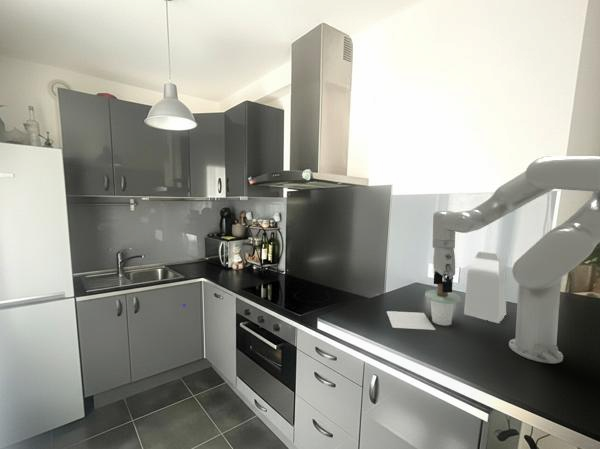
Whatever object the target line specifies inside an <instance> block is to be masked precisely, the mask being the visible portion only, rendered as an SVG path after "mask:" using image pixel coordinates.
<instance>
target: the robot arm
mask: <svg viewBox="0 0 600 449" xmlns="http://www.w3.org/2000/svg"><path fill="white" fill-rule="evenodd" d="M553 190H564V191H565V190H566V191H580V192H581V191H582V192H593V193H592V196H591V197H590V198H589V200H587V201H586V202H585V203H584V204H583V205H582V206H581V207H579V208H578V210H576V211H575V213H573V215H571V216H570V217H568V218H567V220H565V221H564V222H563V223H562V224H560V225H558V226H556V227H554V228H552V229H551V230H549V231H548V232H547V233H546V234H544V235H543V236H542V237H541V238H540V239H539V240H538V241H537V242H535V243H534V244H533V245H532V246H531V247H530V248H529V249H528V250H527V251H526V252H524V254H522V255H521V256H520V257H519V258H518V259H517V260H516V261H515V262H514V263H513V265H512V271H511V272H512V276H513V278H514V280H515V281H516V283H518V290H517V299H516V300H517V301H516V302H517V303H516V304H517V305H516V318H515V319H516V322H515V338H512V339H510V340H509V341H508V347H509V348H510V349H511V350H512V351H513V352H514V353H515V354H517V355H519V356H521V357H522V358H526V359H528V360H530V361H531V360H532V361H535V362H539V363H544V364H560V363H561V362H563V360H564V355H563V353H562V352H561V351H559V347H558V346H557V343H558V341H557V339H558V327H559V326H558V325H559V310H560V301H561V300H560V299H561V288H562V281H563V278H564V276H566V275H568V273H569V272H571V271H572V270H574V268H576V267H577V266H579V265H580V264H581V263H582V262H584V261H585V260H586V259H587V258H589V257H590V255H591V254H592V253H593V252H594V250H595V248H596V247H597V245H598V244H599V243H600V155H596V156H595V155H591V156H590V155H589V156H586V155H585V156H578V155H577V156H557V155H555V156H542V157H540V158H537V159H535V160H533V161H532V162H531V163H530V164H528V166H527V167H526V170H525V171H523V172H522V173H520V174H518V175H517V176H515V177H514V178H512V179H510V180H508V181H507V182H505V183H503V184H502V185H500V186H499V187H497V189H496V190H495V191H494V193H493V195H491V197H490V198H488V199H487V200H486V201H484V202H482V203H481V204H479V205H477V206H476V207H474V208H472V209H470V210H465V211H457V212H454V211H447V210H443V211H442V210H439V211H435V212H434V213H433V216H432V248H433V262H432V263H433V264H432V265H433V269H434V270H433V284H434V285H437V284H442V291H443V292H448V293H453V283H454V276H456V255H455V249H456V232H457V233H463V234H467V233H471V232H475V231H478V230H480V229H483V228H485V227H487V226H489V225H490V224H492V223H494V222H496V221H497V220H499V219H501V218H503V217H504V216H506V215H508V214H510V213H514V211H516V210H518V209H520V208H521V207H524V206H526V205H527V204H529V203H530V202H532V201H534V200H536V199H537V198H539V197H542V196H544V195H546V194H547V193H549V192H551V191H553Z"/></svg>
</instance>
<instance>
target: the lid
mask: <svg viewBox="0 0 600 449" xmlns="http://www.w3.org/2000/svg"><path fill="white" fill-rule="evenodd" d="M436 286H437V287H436V288H437V289H430V290H426V291H425V293H424V296H425V299H428V300H429V301H431V300H432V301H435V302H439V303H446V304H454V305H455V304H458V303H460V302H461V296H460V295H459V294H457V293H454V292H452V293H448V292H443V291H442V284H436Z"/></svg>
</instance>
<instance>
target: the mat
mask: <svg viewBox="0 0 600 449" xmlns="http://www.w3.org/2000/svg"><path fill="white" fill-rule="evenodd" d="M386 315H387V316H388V319H389V322H390V324H391V327H392V328H395V329H410V330H411V329H413V330H426V331H427V330H430V331H436V328H435V327H434V325H433V323H432V322H431V321H430V320H429V318H428V317H427V316H426V314H425V312H414V311H413V312H412V311H410V312H409V311H395V310H394V311H393V310H390V311H386Z"/></svg>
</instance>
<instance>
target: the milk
mask: <svg viewBox="0 0 600 449" xmlns="http://www.w3.org/2000/svg"><path fill="white" fill-rule="evenodd" d="M506 284H507V283H506V269H505V267H504V265H503V263H502V262H501V260H500V258H499V256H498V253H497V252H493V251H492V252H490V251H481V250H479V251H478V252H477V253H476V256H475V257H474V259H473V260H472V262H471V264H470V265H469V267H468V269H467V276H466V286H465V287H466V288H465V298H464V309H463V315H466V316H468V317H469V316H470V317H473V318H477V319H480V320H484V321H487V320H488V321H489V322H491V323H496V324H500V323H501V322H502V320H503V319H504V318H505V317H506V316H507V293H506V292H507V290H506V289H507V288H506V287H507V286H506ZM505 315H506V316H505ZM504 316H505V317H504ZM500 321H501V322H500Z"/></svg>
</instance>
